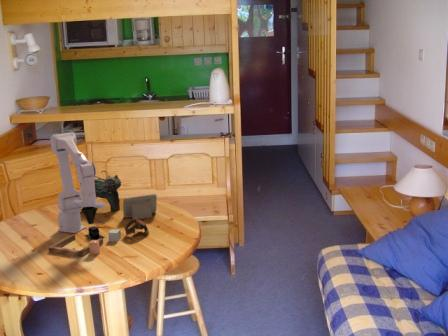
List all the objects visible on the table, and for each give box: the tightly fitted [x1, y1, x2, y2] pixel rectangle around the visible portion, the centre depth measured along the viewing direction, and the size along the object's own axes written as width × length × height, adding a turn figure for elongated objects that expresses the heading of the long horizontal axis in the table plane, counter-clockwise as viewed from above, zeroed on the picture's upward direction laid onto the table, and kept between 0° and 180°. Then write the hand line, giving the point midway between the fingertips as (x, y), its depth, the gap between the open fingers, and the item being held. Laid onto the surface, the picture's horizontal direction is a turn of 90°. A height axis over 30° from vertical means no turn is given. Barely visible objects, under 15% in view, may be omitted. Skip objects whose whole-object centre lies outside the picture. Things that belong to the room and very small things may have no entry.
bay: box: [48, 233, 104, 258], centre depth 231 cm, size 16×15×2 cm
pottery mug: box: [124, 218, 150, 237], centre depth 243 cm, size 12×10×8 cm
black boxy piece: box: [83, 225, 106, 241], centre depth 242 cm, size 12×7×5 cm, turn 41°
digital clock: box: [122, 193, 158, 220], centre depth 264 cm, size 16×9×11 cm, turn 99°
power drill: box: [93, 170, 122, 212], centre depth 275 cm, size 20×6×20 cm, turn 69°
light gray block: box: [107, 228, 122, 243], centre depth 238 cm, size 4×4×4 cm
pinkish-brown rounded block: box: [88, 240, 101, 256], centre depth 224 cm, size 4×4×5 cm
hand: (91, 223), depth 230 cm, fingers closed
